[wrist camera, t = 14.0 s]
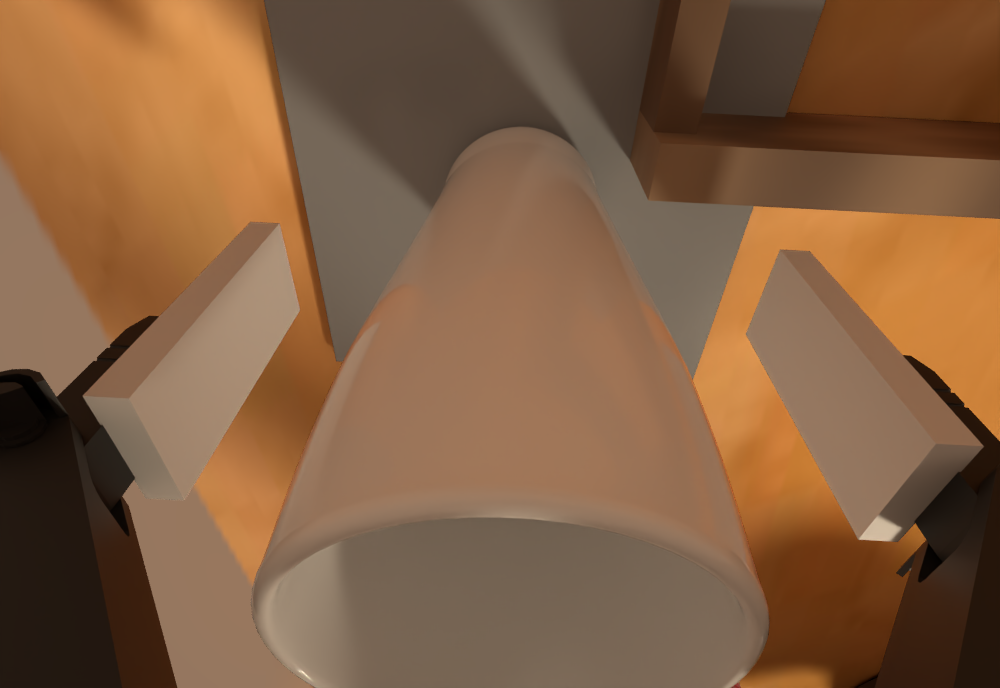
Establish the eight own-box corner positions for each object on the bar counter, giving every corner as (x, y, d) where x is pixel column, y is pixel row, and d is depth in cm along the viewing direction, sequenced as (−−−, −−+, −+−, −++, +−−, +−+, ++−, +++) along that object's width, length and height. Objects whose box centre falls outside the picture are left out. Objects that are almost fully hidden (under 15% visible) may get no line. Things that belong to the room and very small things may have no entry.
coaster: (841, -77, 14) (852, -77, 14) (689, 372, 24) (692, 380, 24) (252, -104, 14) (242, -106, 14) (340, 352, 24) (336, 361, 24)
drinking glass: (649, 223, 19) (848, 698, 7) (497, 309, 22) (459, 761, 10) (550, 49, 16) (618, 393, 4) (384, 174, 18) (124, 610, 7)
